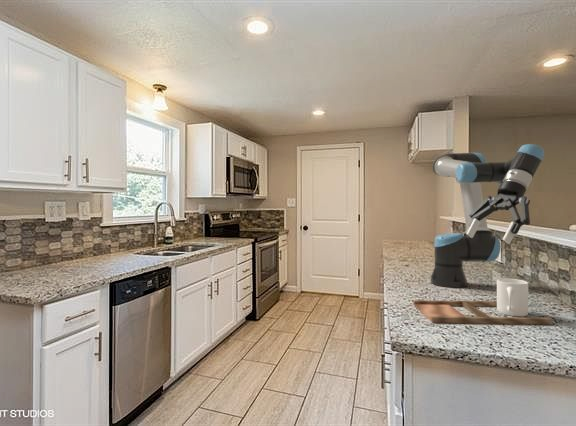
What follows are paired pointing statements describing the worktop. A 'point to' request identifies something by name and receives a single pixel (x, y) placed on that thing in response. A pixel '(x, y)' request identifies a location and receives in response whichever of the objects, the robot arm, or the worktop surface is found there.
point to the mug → (512, 297)
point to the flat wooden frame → (448, 314)
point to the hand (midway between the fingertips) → (486, 238)
